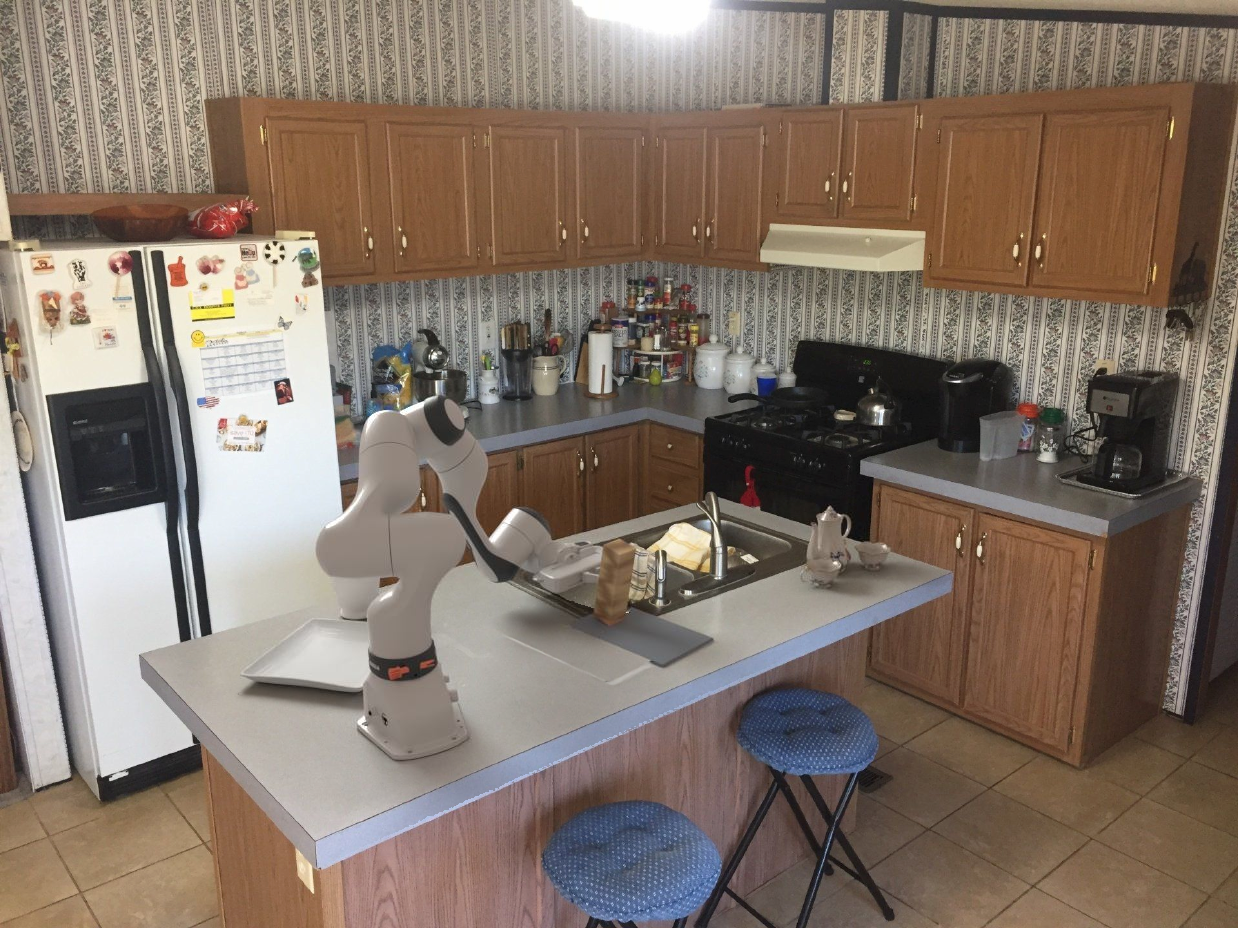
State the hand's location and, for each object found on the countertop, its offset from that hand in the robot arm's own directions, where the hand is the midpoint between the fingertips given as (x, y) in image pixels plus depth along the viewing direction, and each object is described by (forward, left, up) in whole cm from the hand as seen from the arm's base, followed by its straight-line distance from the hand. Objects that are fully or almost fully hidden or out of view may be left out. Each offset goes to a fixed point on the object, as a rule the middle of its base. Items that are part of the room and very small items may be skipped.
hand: (605, 579), depth 223 cm
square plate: (+12, +57, -11) cm, 59 cm away
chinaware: (-6, -61, -10) cm, 62 cm away
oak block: (-1, 0, -9) cm, 9 cm away
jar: (+34, +46, -10) cm, 58 cm away
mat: (-9, -3, -10) cm, 14 cm away
